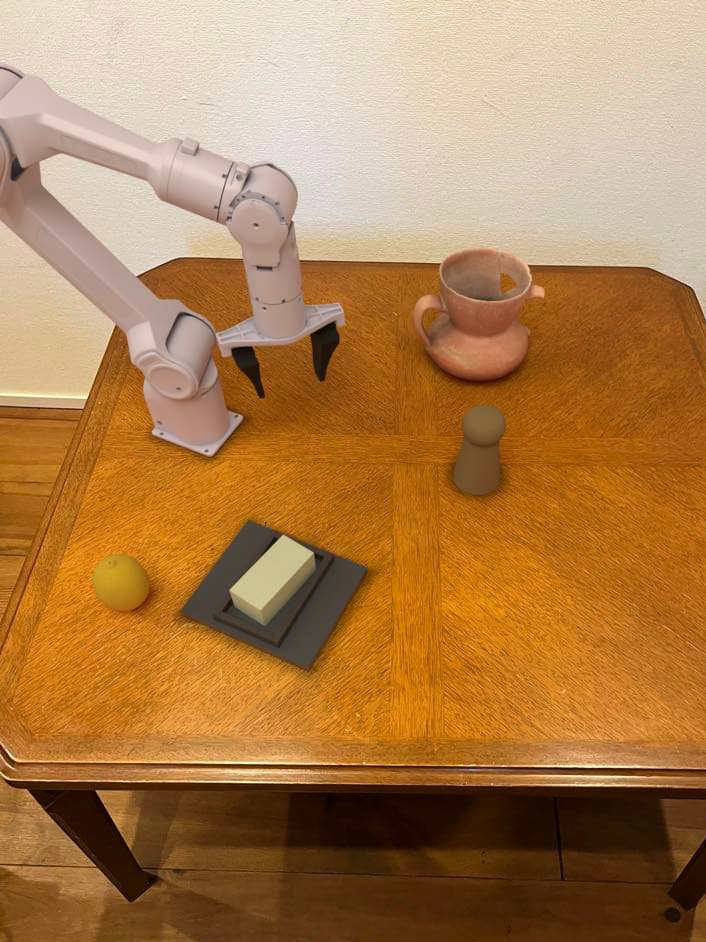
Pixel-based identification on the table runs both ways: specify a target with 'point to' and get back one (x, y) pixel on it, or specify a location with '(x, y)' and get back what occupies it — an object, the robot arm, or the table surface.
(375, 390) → the table surface
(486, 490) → the brown pawn
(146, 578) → the lemon
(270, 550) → the cream rectangular block
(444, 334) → the ceramic jug
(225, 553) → the base pad
